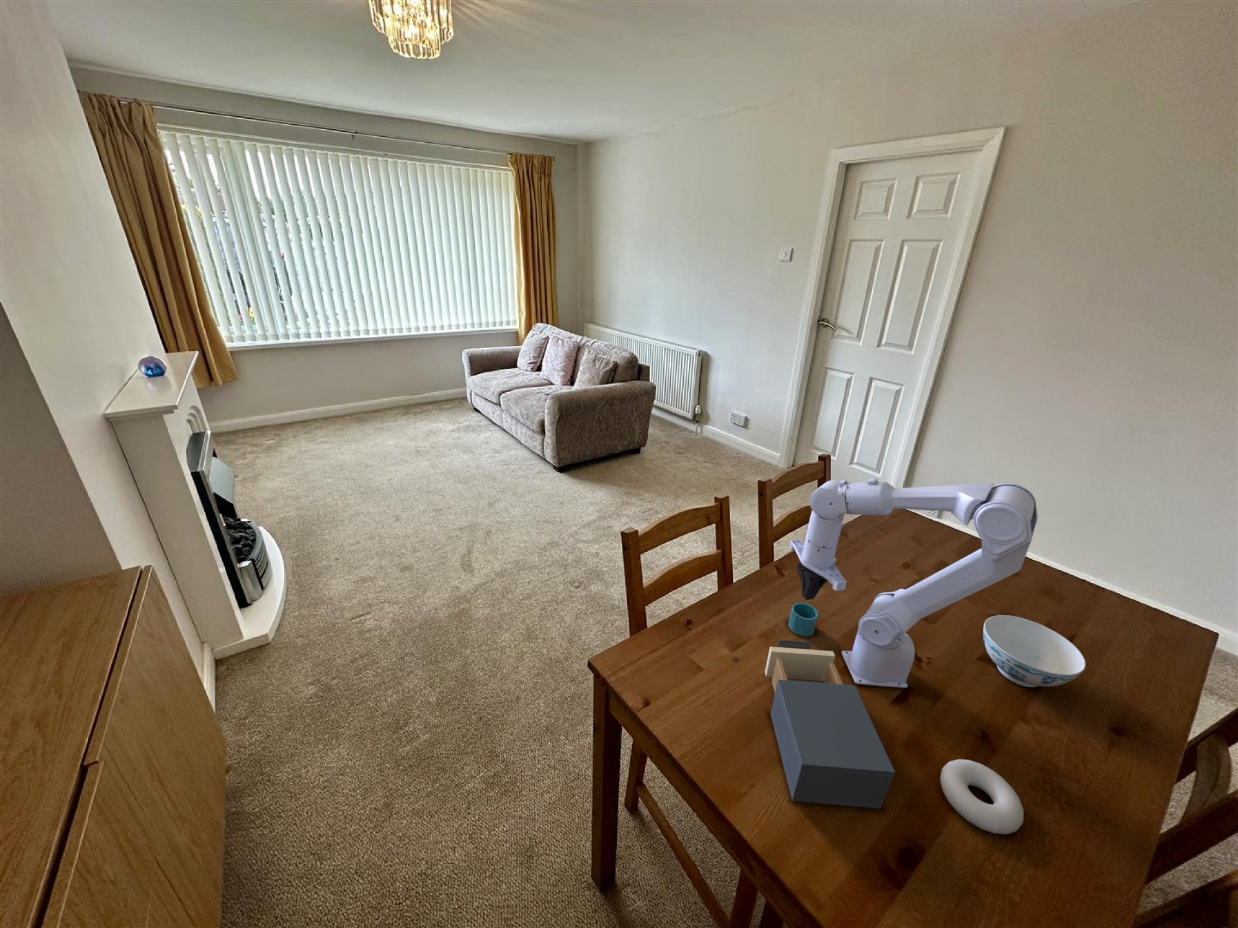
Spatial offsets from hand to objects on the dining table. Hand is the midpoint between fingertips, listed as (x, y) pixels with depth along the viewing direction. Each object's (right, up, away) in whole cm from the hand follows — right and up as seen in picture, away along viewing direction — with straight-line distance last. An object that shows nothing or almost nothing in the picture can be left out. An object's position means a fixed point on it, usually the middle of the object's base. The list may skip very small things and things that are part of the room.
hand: (808, 597), depth 98 cm
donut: (+14, -23, -27) cm, 38 cm away
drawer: (-6, -14, -12) cm, 19 cm away
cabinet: (-7, -19, -21) cm, 30 cm away
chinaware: (+39, -14, -5) cm, 41 cm away
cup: (+1, -8, +5) cm, 10 cm away
